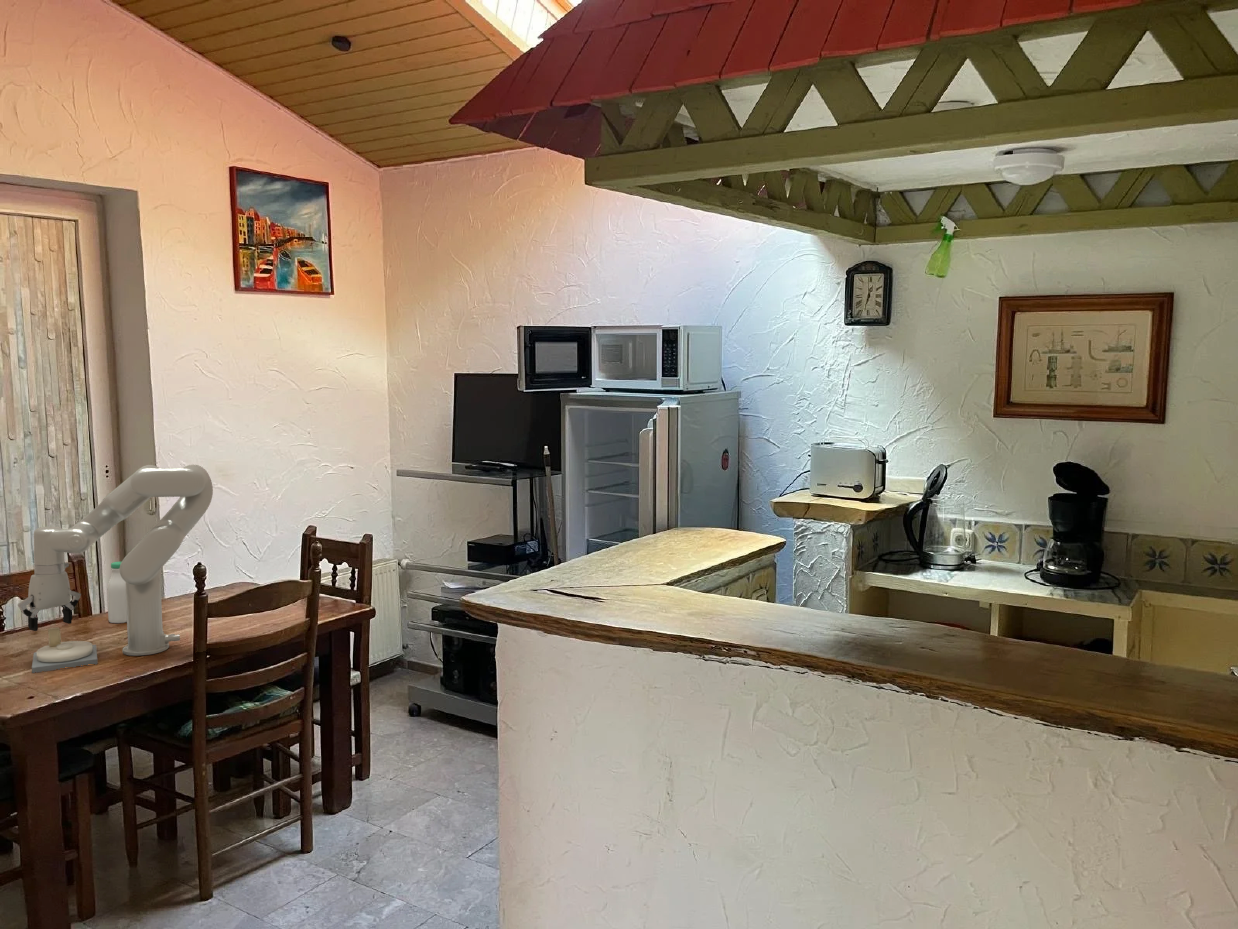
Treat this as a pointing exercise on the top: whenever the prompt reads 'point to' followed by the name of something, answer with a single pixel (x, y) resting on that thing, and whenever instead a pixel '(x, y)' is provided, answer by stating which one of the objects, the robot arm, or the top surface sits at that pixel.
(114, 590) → the milk bottle
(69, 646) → the dial
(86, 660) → the base board
